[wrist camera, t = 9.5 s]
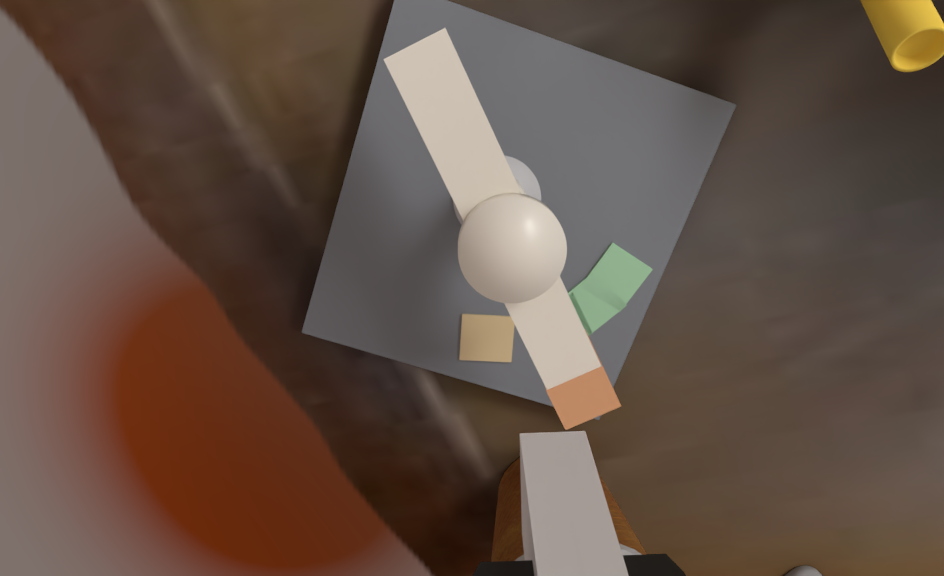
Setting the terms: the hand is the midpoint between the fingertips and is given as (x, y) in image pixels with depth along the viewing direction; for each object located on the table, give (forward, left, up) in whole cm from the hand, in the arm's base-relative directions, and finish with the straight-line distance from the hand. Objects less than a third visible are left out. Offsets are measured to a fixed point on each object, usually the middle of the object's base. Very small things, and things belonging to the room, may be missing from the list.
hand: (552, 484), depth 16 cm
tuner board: (-1, 0, -22) cm, 22 cm away
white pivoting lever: (-2, -1, -21) cm, 21 cm away
